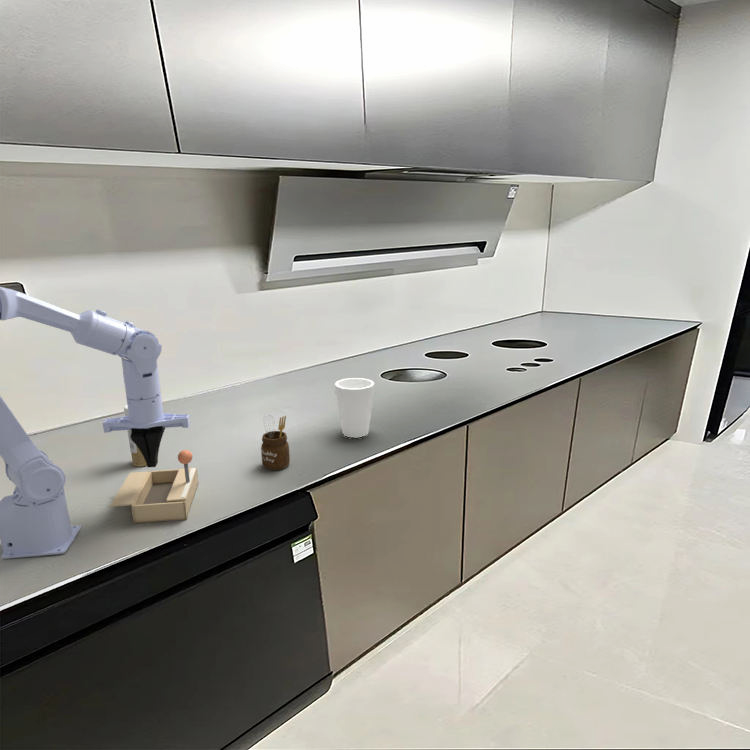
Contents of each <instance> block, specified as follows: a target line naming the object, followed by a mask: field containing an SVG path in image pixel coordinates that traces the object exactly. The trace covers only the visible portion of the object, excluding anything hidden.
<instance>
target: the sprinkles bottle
mask: <svg viewBox="0 0 750 750" xmlns="http://www.w3.org/2000/svg"><path fill="white" fill-rule="evenodd" d="M123 410H124V411H123V412H124V417H125V416H129V413H128V405H127V404H126V405H124V407H123ZM131 432H132V431H131V430H127V436H128V443H129V450H130V454H131V464H132V465H133V466H134V467H137V468H138V467H145V466H146V467H147V464H146V461H145V459H144V457H143V455H142V453H141V451H140V450H139V448H138V447H137V446H136V444H135V443H134V442H133V441H132V440H131V437H130V435H131Z"/></svg>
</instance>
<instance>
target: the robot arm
mask: <svg viewBox="0 0 750 750" xmlns="http://www.w3.org/2000/svg"><path fill="white" fill-rule="evenodd" d="M107 314H108V312H106V311H104V310H101V309H96V310H95V311H93V310H91V309H89V310H85V311H83V312H79V313H76V312H75V313H74V312H72V311H71V310H70V311H69V310H67V309H64V308H62V307H59V306H57V305H54V304H52V303H49V302H47V301H43V300H41V299H40V298H36V297H34V296H31V295H28V294H27V293H26V294H25V293H24V292H21V291H17V290H15V289H12V288H8V287H2V286H0V321H7V320H11V319H14V318H15V319H16V318H23V319H26V320H30V321H33V322H36V323H39V324H43V325H46V326H49V327H53V328H55V329H58V330H62V331H65V332H69V333H70V334H71V336H72V338H73V340H74V342H75V343H76V344H79V345H82V346H85V347H88V348H91V349H95V350H98V351H101V352H103V353H106V354H110V355H113V356H118V357H120V358H121V364H122V374H123V376H122V377H123V381H124V382H123V383H124V389H125V398H126V405H128V413H129V416H125V415H124V416H120V417H119V416H118V417H115V418H114V417H113V418H112V417H111V418H105V420H103V422H102V429H103V433H104V434H105V433H107V434H108V433H111V432H117V431H128V430H131V431H132V432H131V435H130V437H131V440H132V441H133V442H134V443H135V444H136V446H137V447H138V448H139V450H140V451H141V453H142V455H143V457H144V459H145V461H146V464H147V466H146V467H147V468H156V467H157V465H158V463H159V461H158V460H159V451H160V446H161V441H162V438H163V435H164V432H165V429H167V428H180V427H182V428H183V429H186V428H187V429H188V428H190V425H191V419H190V413H189V414H187V413H186V414H182V413H181V414H180V413H168V412H164V409H163V400H162V393H161V392H162V390H161V384H160V376H159V368H158V362H157V361H158V359H159V358H160V356H161V353H162V348H163V347H162V344H160V342H159V339H158V338H157V337H156V335H155V334H154V333H152V332H150V331H149V330H148V331H147V330H144V329H141V328H139V327H136V325H134V324H135V323H133V322H130V321H128V320H126V321H125V322H122V321H121V320H117V319H115V318H112V317H109V316H107ZM0 457H1V459H2V460H3V462H4V465H5V466H4V468H5V470H4V471H5V475H6V477H7V478H8V480H9V481H11V482H12V483H13V484H14V486H15V487H14V490H13V493H12V494H10V495H6V496H4V497H2V498H1V499H0V545H1V549H2V554H1V556H0V557H1V560H5V559H17V558H28V557H39V556H40V557H41V556H51V555H63V554H65V553H67V551H68V549H69V548H70V546H71V545H72V543H73V541H74V539H76V537H77V536H78V534H79V532H80V531H81V529H82V526H81V525H78V524H77V525H71V519H70V514H69V508H68V504H67V503H68V501H67V497H66V492H65V485H66V474H65V472H64V470H63V469H62V468H61V467H60V466H59V465H58V464H57V465H56V464H55V463H54V462H53V461H52V460H51V459H50V457H49V456H48V455H47V454H46V453H45V452H44V451H43V450H41V449H39V448H38V447H37V446H36V444H35V442H34V441H32V439H31V438H30V436H29V434H28V433H27V432H26V431H25V429H24V428H23V426H22V425H21V423H20V422H19V420H18V419H17V418H16V416H15V414H14V413H13V412H12V410H11V409H10V408H9V406H8V405H7V403H6V402H5V400H4V399H3V398H2V397H1V395H0Z"/></svg>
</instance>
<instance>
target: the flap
mask: <svg viewBox="0 0 750 750" xmlns="http://www.w3.org/2000/svg"><path fill="white" fill-rule="evenodd" d="M177 460H178V462H179V463H181V464H183V466H184V467H183V468H178V469H179V471H178V473H177V476H176V478H175V481H174V483H173V485H172V488H171V490H170V493H169V495H168V497H167V500H166V502H168V501H181V500H186V498H187V495H188V493H189V490H190V487H191V484H192V481H193V478H194V476H195V473H196V470H197V471H198V467H189V463H190V462H192V460H193V453H192V452H191V451H190V450H189V449H183V450H181V451H180V452H179V453H178V454H177Z"/></svg>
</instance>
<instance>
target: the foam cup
mask: <svg viewBox="0 0 750 750" xmlns="http://www.w3.org/2000/svg"><path fill="white" fill-rule="evenodd" d="M334 394H335V395H336V402H337V407H338V414H339V420H340V426H341V427H340V428H341V431H342V435H343V434H344V435H345V436H347V437H362V436H365V435H367V434H368V435H369V431H370V424H371V418H372V417H371V416H372V409H373V408H372V407H373V402H374V394H375V382H374V381H373V380H371V379H368V378H361V377H356V378H355V377H350V378H349V377H348V378H342V379H340V380H336V382H335V383H334ZM344 435H343V436H344ZM368 435H367V436H368ZM345 436H344V437H345ZM347 437H346V438H347Z"/></svg>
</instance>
